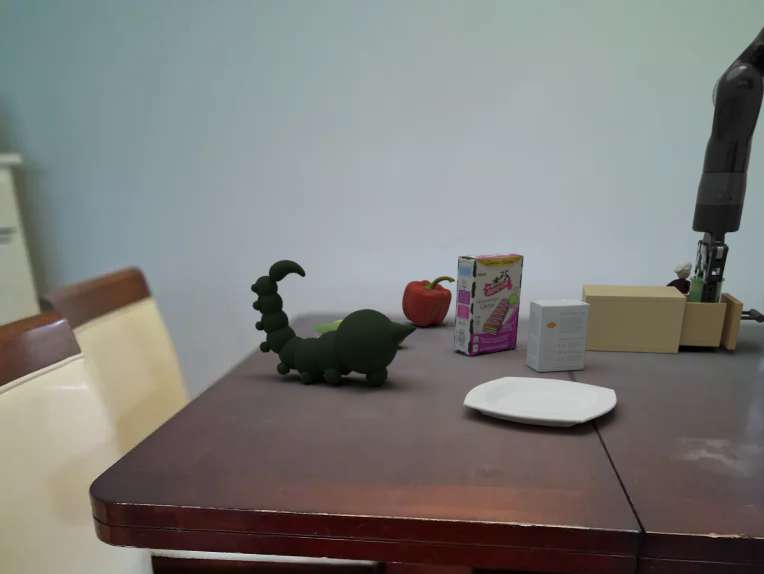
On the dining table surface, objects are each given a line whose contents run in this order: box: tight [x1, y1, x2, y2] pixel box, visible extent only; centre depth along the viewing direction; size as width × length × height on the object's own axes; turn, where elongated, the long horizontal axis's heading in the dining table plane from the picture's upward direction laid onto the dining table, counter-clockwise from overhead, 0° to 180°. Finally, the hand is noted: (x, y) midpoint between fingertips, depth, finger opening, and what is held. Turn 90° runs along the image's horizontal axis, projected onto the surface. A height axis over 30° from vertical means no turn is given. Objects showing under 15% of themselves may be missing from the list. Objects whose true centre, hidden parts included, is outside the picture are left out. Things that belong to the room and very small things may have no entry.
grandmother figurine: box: [665, 260, 693, 294], centre depth 153 cm, size 8×4×13 cm, turn 46°
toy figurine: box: [250, 259, 417, 387], centre depth 111 cm, size 9×19×25 cm
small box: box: [525, 298, 590, 373], centre depth 120 cm, size 8×6×10 cm
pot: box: [688, 275, 726, 303], centre depth 132 cm, size 6×6×5 cm
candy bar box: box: [453, 252, 525, 357], centre depth 130 cm, size 11×5×16 cm, turn 123°
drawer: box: [679, 292, 764, 350], centre depth 134 cm, size 20×12×8 cm, turn 78°
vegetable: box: [401, 275, 456, 327], centre depth 155 cm, size 11×10×10 cm
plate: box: [463, 376, 618, 428], centre depth 99 cm, size 19×19×2 cm
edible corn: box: [313, 319, 408, 346], centre depth 139 cm, size 5×20×5 cm, turn 61°
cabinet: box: [581, 284, 686, 354], centre depth 136 cm, size 17×14×10 cm
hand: (703, 303), depth 133 cm, fingers closed on pot, 5 cm apart
